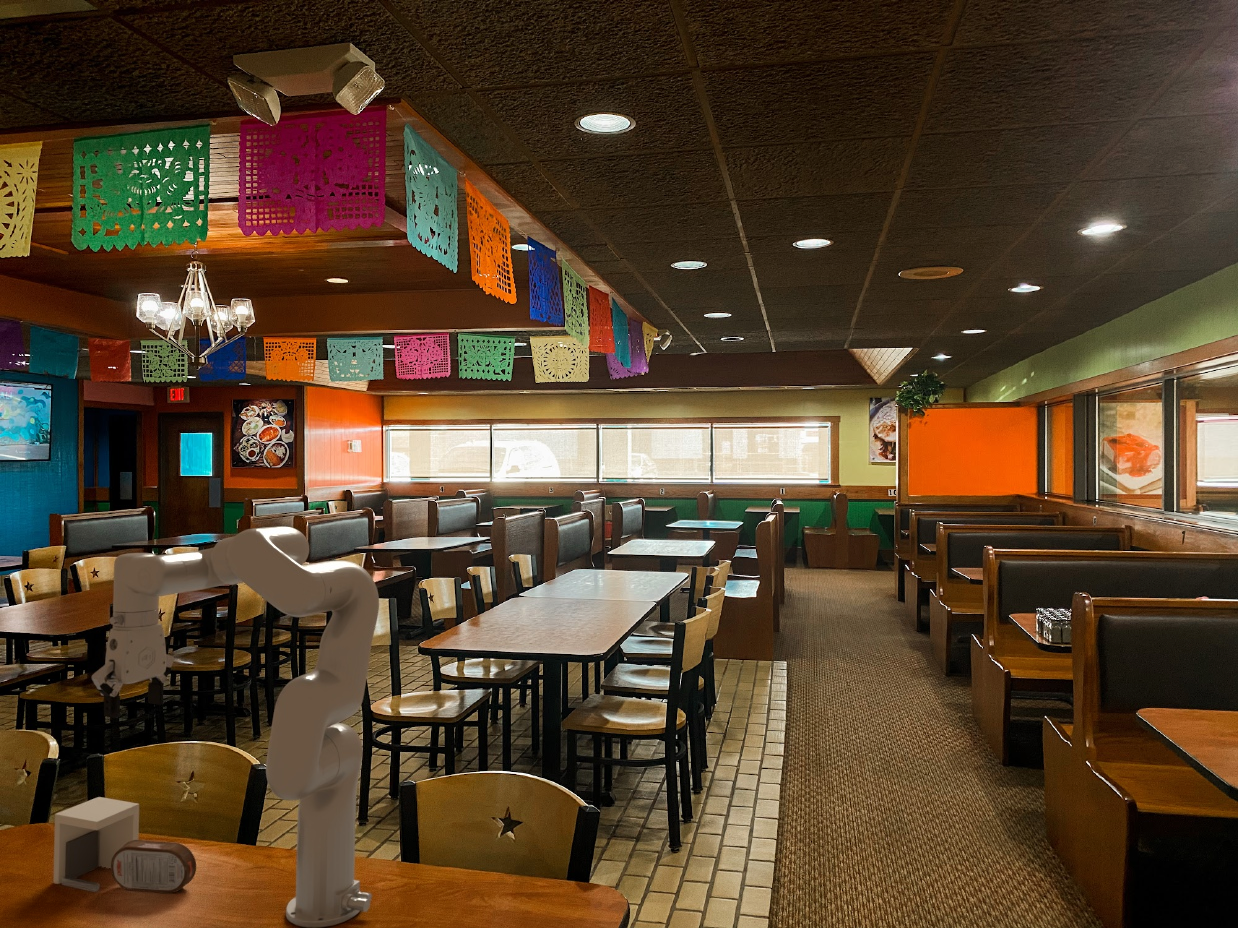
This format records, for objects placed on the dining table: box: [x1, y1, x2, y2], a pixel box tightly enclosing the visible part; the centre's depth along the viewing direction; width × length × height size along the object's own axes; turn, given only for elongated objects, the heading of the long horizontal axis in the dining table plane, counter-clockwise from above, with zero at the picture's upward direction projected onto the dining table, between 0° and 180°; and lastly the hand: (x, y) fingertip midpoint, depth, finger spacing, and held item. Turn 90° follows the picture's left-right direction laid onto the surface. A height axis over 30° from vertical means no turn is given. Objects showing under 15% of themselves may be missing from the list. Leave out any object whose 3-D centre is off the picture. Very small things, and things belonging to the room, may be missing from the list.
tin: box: [110, 839, 197, 894], centre depth 156 cm, size 15×3×8 cm, turn 84°
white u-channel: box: [53, 796, 140, 893], centre depth 161 cm, size 10×9×12 cm
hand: (134, 710), depth 163 cm, fingers open, 9 cm apart
